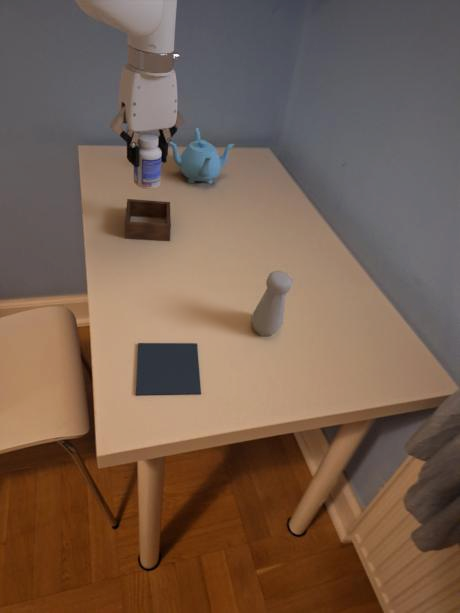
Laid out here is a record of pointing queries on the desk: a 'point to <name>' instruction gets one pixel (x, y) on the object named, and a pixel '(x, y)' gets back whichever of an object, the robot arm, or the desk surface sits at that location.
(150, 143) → the pill bottle
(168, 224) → the caddy
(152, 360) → the mat
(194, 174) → the teapot
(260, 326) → the salt shaker
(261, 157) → the desk surface
